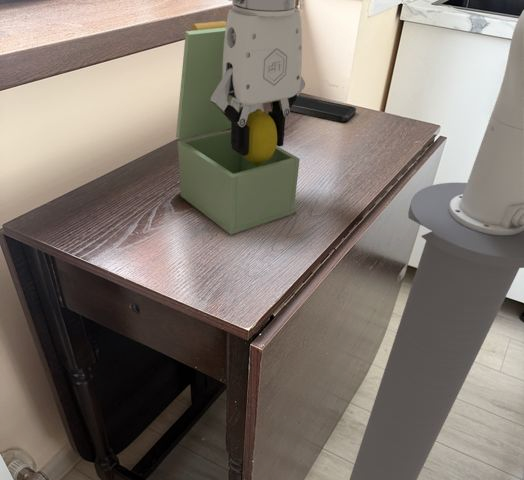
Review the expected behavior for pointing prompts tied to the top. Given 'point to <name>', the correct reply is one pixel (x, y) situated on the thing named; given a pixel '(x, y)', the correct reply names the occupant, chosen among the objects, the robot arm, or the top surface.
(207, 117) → the lid
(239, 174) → the chest
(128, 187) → the top surface
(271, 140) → the lemon
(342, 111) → the phone
